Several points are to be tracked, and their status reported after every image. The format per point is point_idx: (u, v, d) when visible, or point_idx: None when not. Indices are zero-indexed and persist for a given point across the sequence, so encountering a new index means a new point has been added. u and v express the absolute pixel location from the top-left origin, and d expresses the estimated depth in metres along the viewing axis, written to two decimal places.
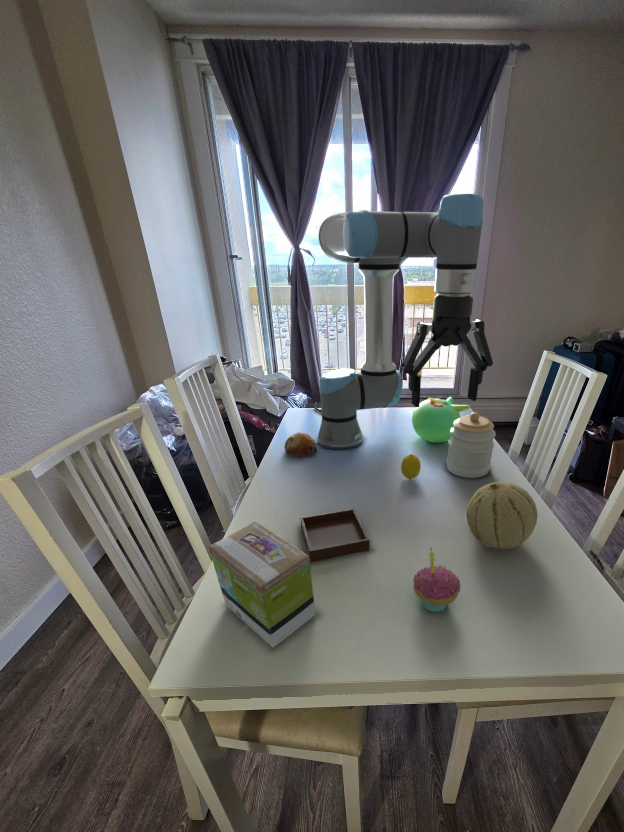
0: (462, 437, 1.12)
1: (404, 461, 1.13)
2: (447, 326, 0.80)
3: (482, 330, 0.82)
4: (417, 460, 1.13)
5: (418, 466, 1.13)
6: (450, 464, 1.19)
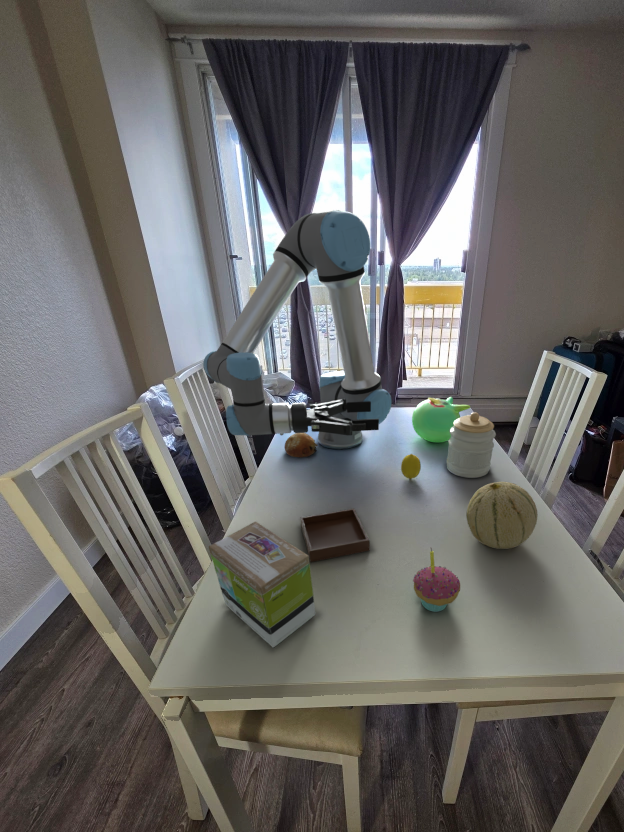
0: (462, 437, 1.12)
1: (404, 461, 1.13)
2: None
3: None
4: (417, 460, 1.13)
5: (418, 466, 1.13)
6: (450, 464, 1.19)
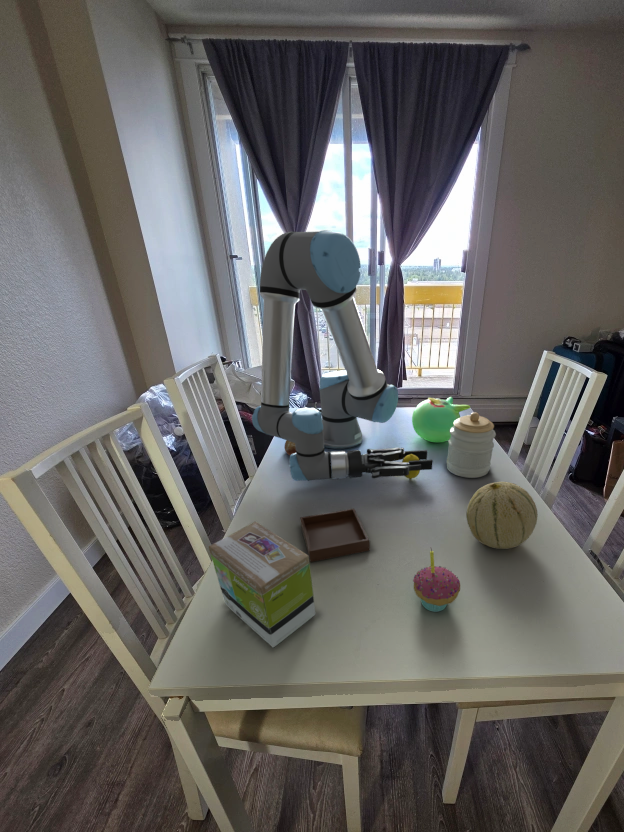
0: (462, 437, 1.12)
1: (404, 461, 1.13)
2: None
3: None
4: None
5: None
6: (450, 464, 1.19)
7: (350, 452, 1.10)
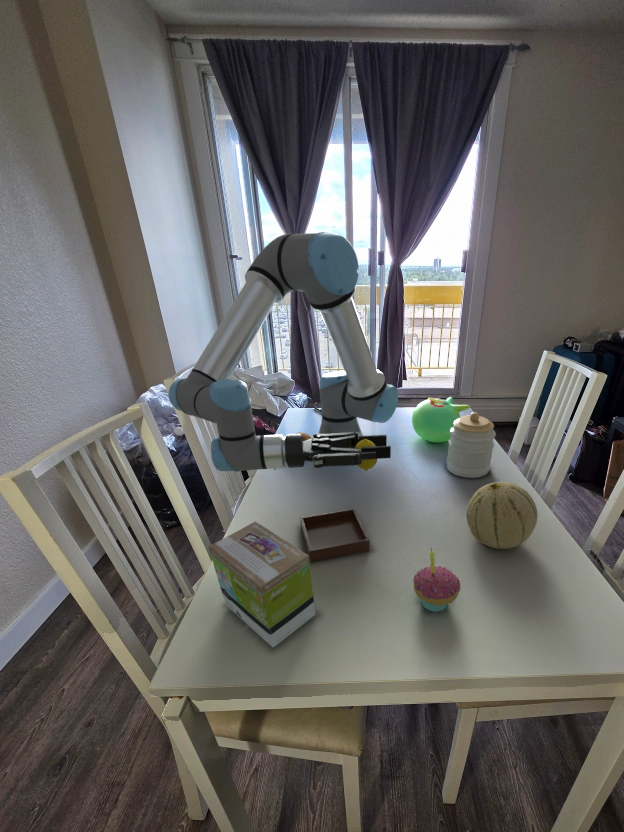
0: (462, 437, 1.12)
1: (356, 448, 0.92)
2: None
3: None
4: (372, 446, 0.92)
5: None
6: (450, 464, 1.19)
7: (288, 436, 0.89)
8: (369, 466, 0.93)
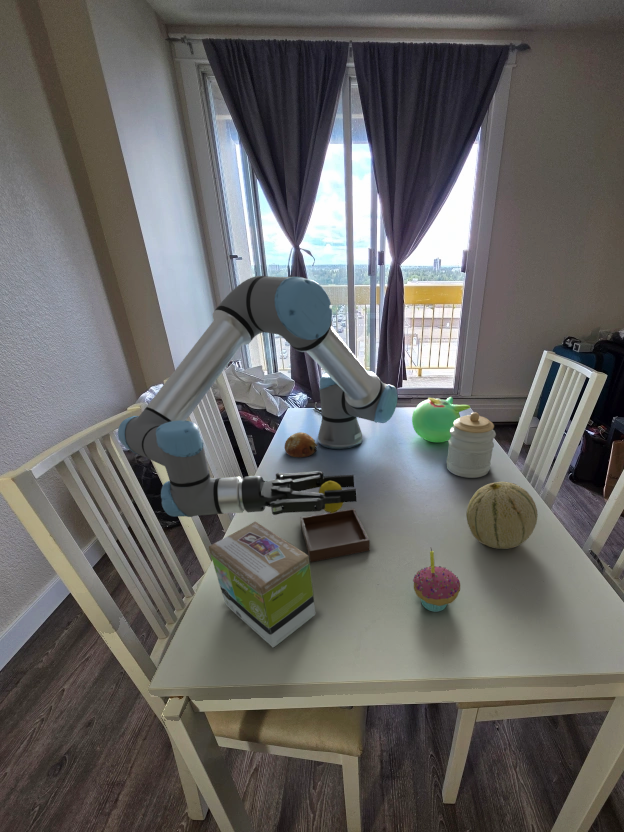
0: (462, 437, 1.12)
1: (320, 490, 0.86)
2: None
3: None
4: (337, 489, 0.85)
5: None
6: (450, 464, 1.19)
7: (245, 479, 0.83)
8: (334, 509, 0.87)
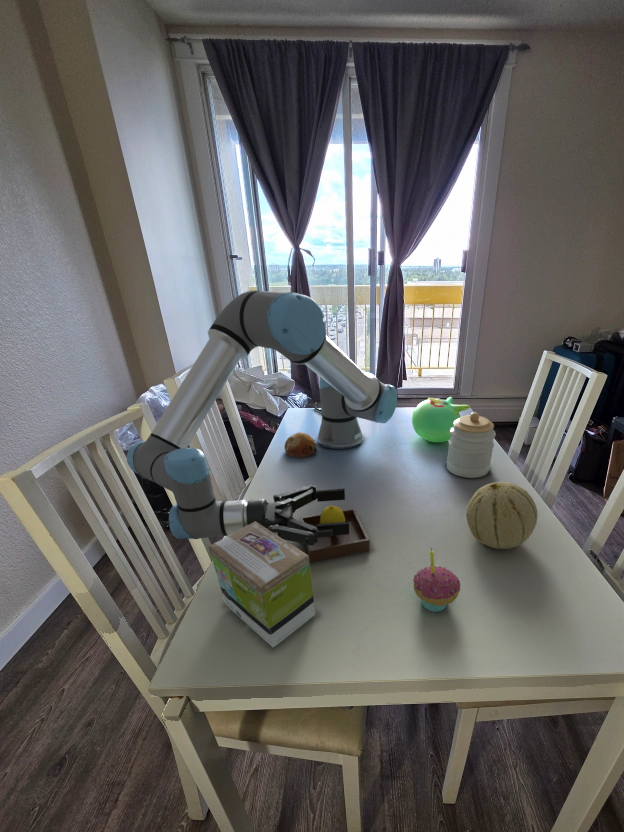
0: (462, 437, 1.12)
1: (322, 515, 0.89)
2: None
3: None
4: (339, 514, 0.89)
5: (340, 521, 0.89)
6: (450, 464, 1.19)
7: (250, 503, 0.86)
8: None
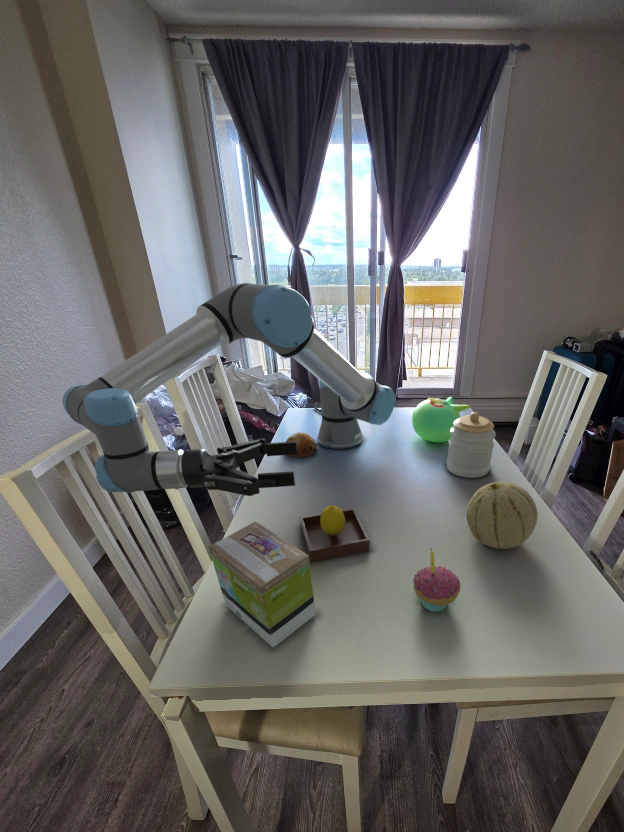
0: (462, 437, 1.12)
1: (322, 515, 0.89)
2: None
3: None
4: (339, 514, 0.89)
5: (340, 521, 0.89)
6: (450, 464, 1.19)
7: (186, 452, 0.78)
8: (336, 533, 0.90)
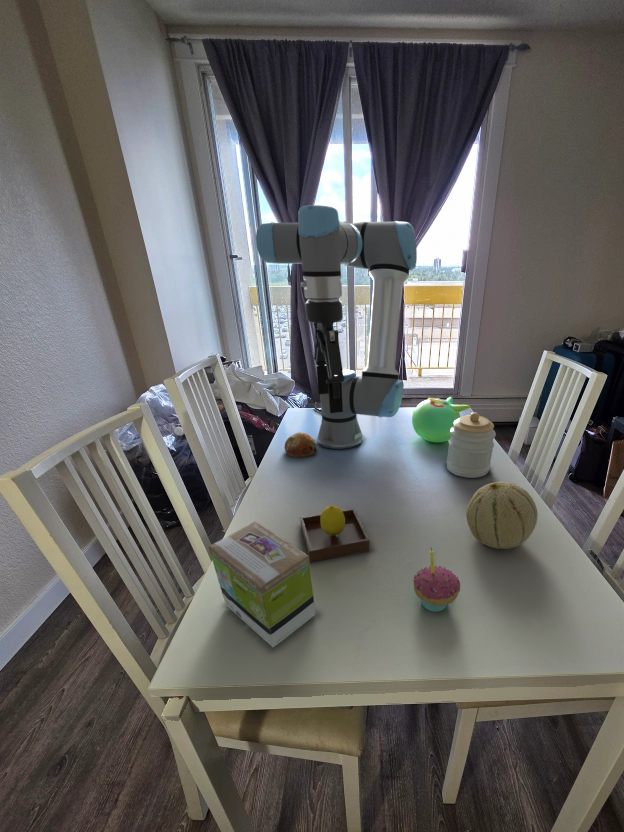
0: (462, 437, 1.12)
1: (322, 515, 0.89)
2: (318, 328, 0.86)
3: (326, 341, 0.80)
4: (339, 514, 0.89)
5: (340, 521, 0.89)
6: (450, 464, 1.19)
7: None
8: (336, 533, 0.90)
